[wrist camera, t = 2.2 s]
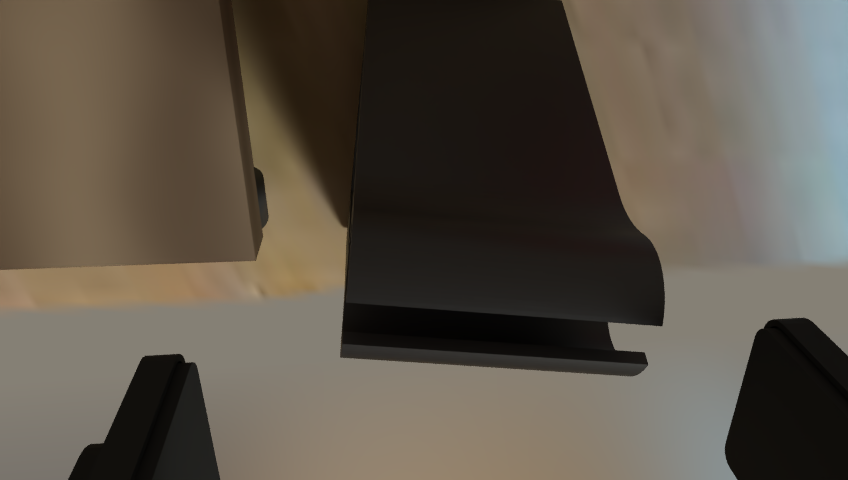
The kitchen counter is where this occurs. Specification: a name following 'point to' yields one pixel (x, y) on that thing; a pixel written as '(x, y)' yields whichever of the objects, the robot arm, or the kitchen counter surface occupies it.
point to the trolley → (124, 135)
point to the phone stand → (487, 198)
